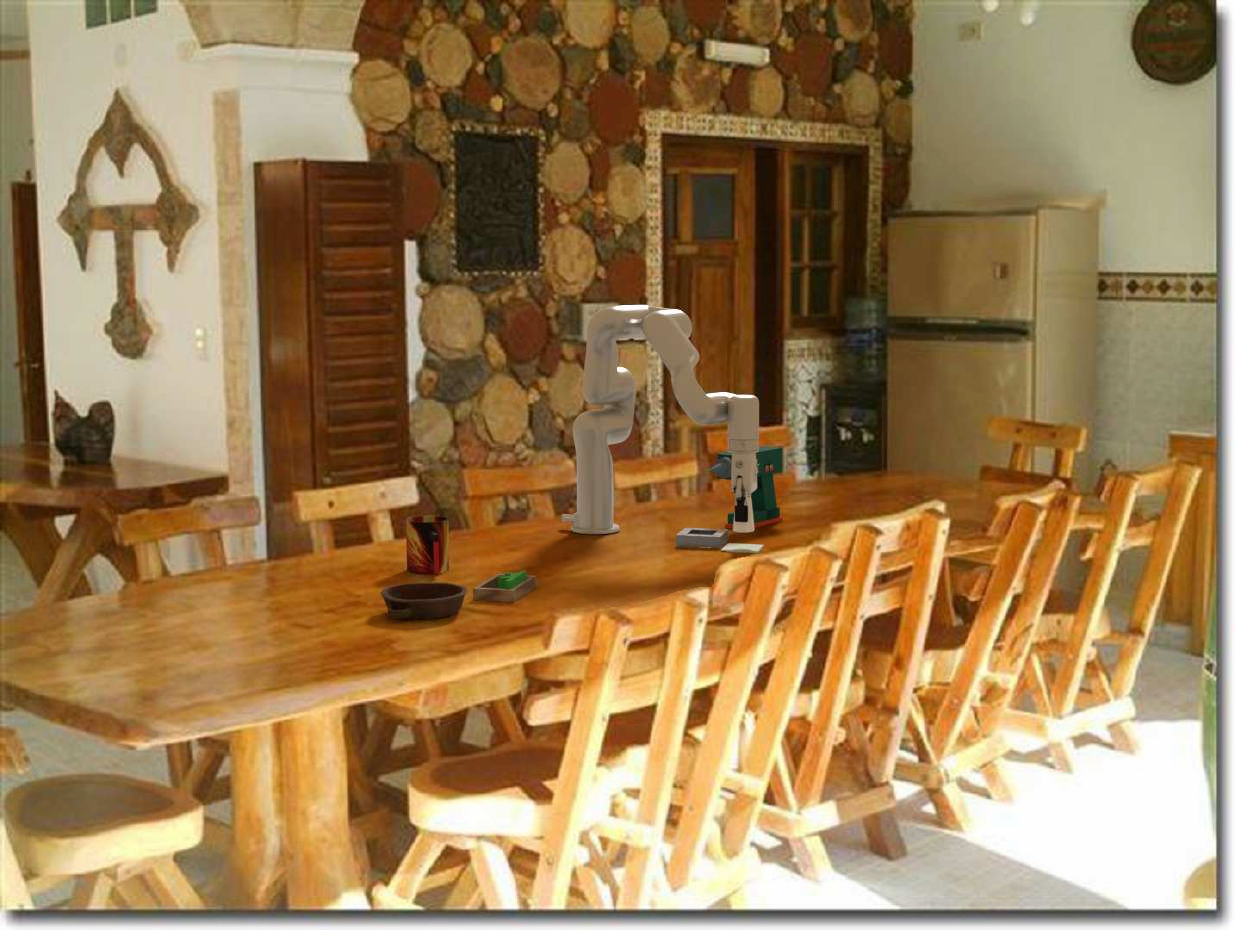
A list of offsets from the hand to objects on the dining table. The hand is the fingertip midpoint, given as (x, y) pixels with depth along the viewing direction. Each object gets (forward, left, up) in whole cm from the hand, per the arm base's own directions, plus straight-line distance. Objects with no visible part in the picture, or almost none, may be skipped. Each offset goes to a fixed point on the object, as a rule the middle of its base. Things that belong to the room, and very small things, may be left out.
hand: (743, 519), depth 410 cm
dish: (-50, -86, -8) cm, 100 cm away
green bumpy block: (-38, -65, -8) cm, 76 cm away
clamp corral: (-40, -64, -7) cm, 76 cm away
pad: (0, 0, -7) cm, 7 cm away
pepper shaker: (0, 0, -3) cm, 3 cm away
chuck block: (-11, +5, -7) cm, 14 cm away
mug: (-64, -45, -8) cm, 78 cm away
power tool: (-6, +31, -8) cm, 32 cm away
